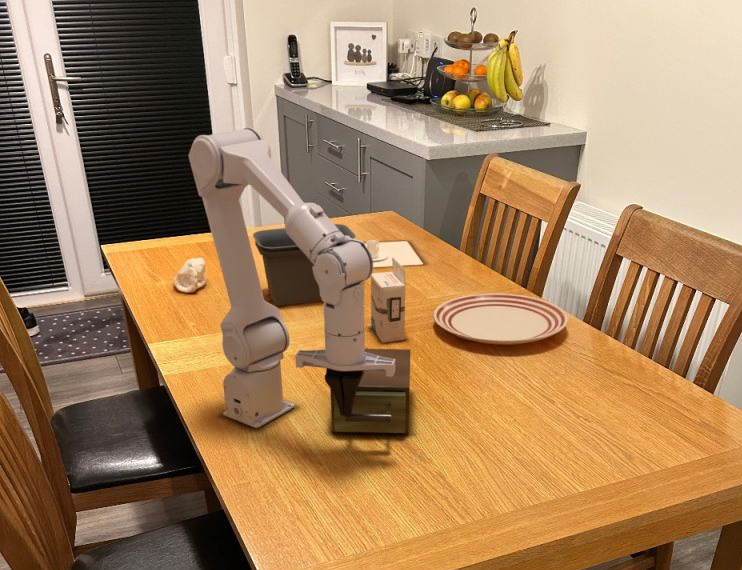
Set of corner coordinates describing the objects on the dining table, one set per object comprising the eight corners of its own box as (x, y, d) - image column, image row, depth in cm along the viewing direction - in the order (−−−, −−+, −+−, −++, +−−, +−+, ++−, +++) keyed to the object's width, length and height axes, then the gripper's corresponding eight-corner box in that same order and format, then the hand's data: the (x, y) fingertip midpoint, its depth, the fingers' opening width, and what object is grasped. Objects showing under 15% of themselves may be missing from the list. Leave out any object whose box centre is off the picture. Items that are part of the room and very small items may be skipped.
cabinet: (408, 433, 128) (409, 387, 124) (332, 432, 129) (330, 385, 124) (409, 393, 141) (410, 349, 136) (339, 391, 141) (338, 348, 137)
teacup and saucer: (354, 252, 208) (354, 237, 206) (384, 251, 210) (384, 235, 207) (359, 263, 201) (359, 247, 199) (390, 261, 202) (390, 245, 200)
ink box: (369, 327, 166) (369, 258, 158) (392, 325, 167) (393, 255, 159) (381, 343, 159) (382, 271, 151) (405, 340, 160) (406, 269, 152)
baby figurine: (193, 275, 194) (210, 248, 189) (207, 308, 188) (225, 281, 183) (161, 266, 188) (177, 238, 183) (175, 300, 182) (192, 271, 177)
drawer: (404, 448, 123) (405, 409, 119) (332, 446, 123) (330, 408, 120) (406, 394, 138) (406, 359, 135) (341, 393, 139) (340, 358, 135)
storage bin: (265, 312, 173) (260, 247, 165) (254, 289, 185) (248, 227, 178) (360, 302, 178) (359, 238, 170) (343, 280, 191) (341, 219, 183)
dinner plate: (405, 325, 167) (406, 310, 165) (495, 295, 182) (497, 281, 180) (502, 368, 149) (504, 352, 147) (593, 332, 164) (596, 316, 162)
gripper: (400, 322, 115) (398, 405, 122) (303, 314, 118) (307, 395, 125) (390, 341, 109) (389, 427, 117) (289, 332, 112) (294, 417, 119)
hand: (346, 412), depth 120 cm, fingers closed
